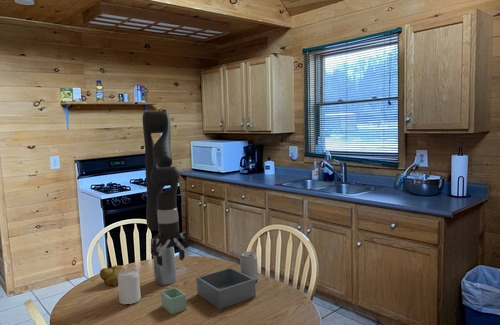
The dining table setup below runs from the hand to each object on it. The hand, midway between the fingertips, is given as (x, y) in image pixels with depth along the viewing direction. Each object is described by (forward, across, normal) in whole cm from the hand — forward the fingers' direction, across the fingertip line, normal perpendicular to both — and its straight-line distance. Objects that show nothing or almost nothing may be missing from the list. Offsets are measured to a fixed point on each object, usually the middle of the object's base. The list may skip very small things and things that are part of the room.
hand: (171, 262), depth 149 cm
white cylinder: (+18, +11, -17) cm, 27 cm away
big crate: (+18, -21, +4) cm, 28 cm away
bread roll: (+18, +9, -41) cm, 46 cm away
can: (+18, -37, -2) cm, 41 cm away
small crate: (+18, 0, 0) cm, 18 cm away
